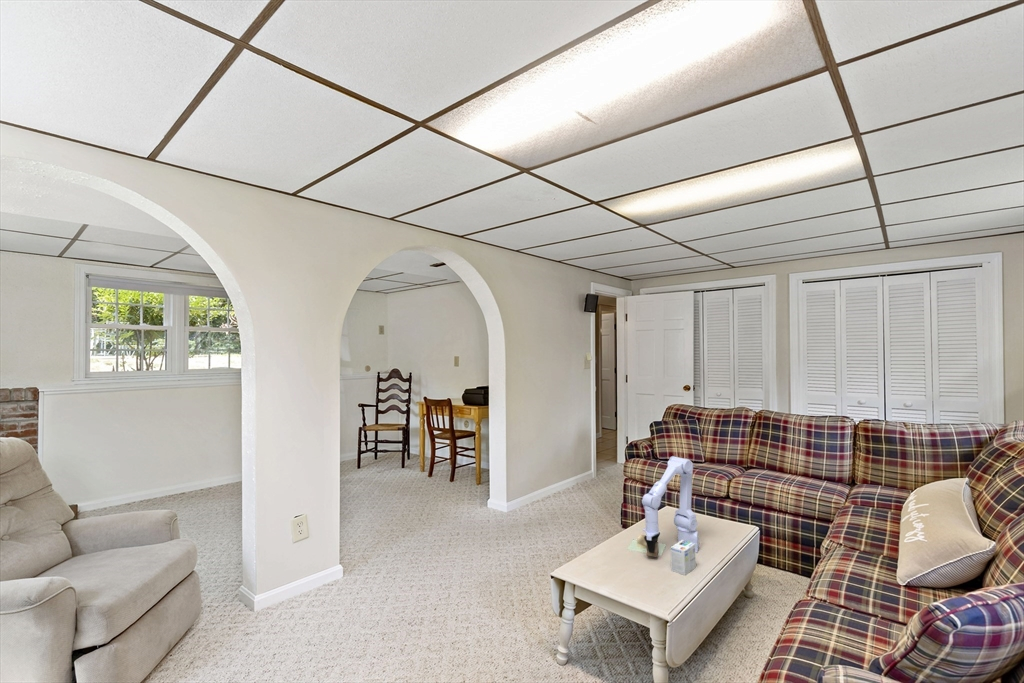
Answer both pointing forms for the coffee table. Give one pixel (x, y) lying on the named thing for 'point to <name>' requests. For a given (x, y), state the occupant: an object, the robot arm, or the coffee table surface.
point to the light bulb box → (683, 557)
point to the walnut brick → (654, 551)
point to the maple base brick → (641, 542)
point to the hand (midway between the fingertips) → (652, 550)
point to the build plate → (634, 548)
